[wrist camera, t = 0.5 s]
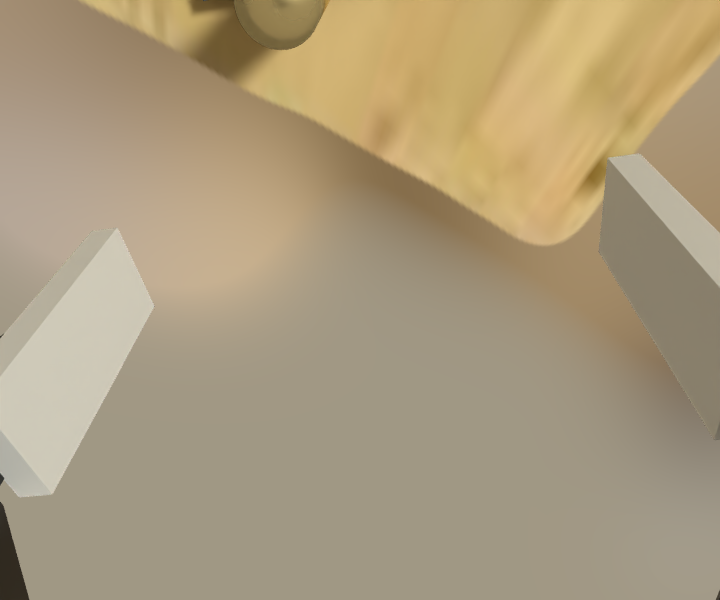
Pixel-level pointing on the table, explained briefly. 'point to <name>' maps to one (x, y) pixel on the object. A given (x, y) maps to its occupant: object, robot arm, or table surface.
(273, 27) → the knob
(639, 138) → the table surface
